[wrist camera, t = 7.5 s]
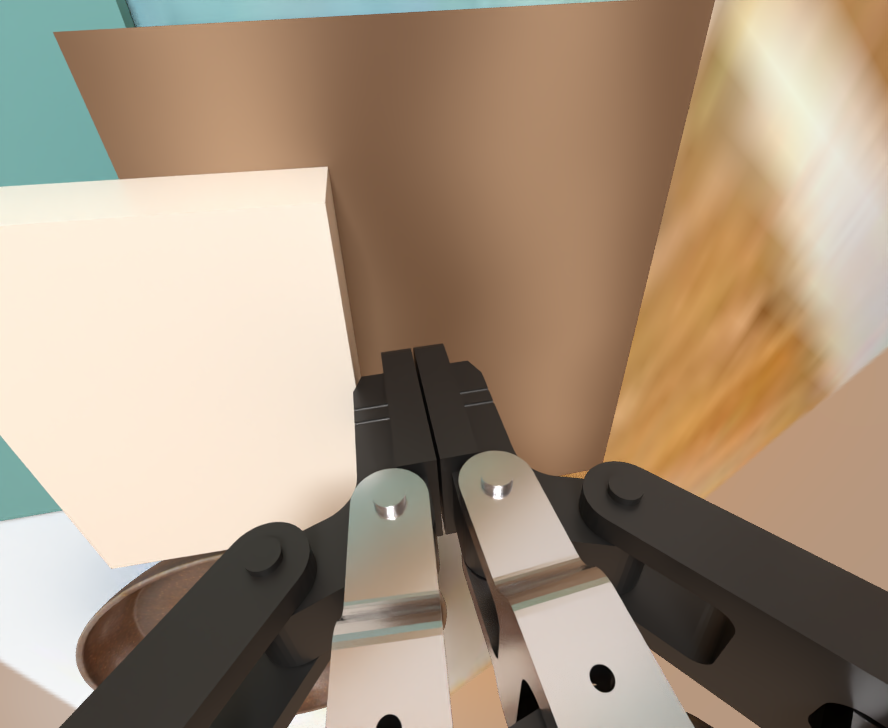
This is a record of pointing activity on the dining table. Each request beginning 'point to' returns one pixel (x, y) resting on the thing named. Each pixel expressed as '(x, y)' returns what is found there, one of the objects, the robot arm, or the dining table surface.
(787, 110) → the dining table surface
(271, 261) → the white block
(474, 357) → the bronze rectangular block
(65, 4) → the mat
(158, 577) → the plant saucer
